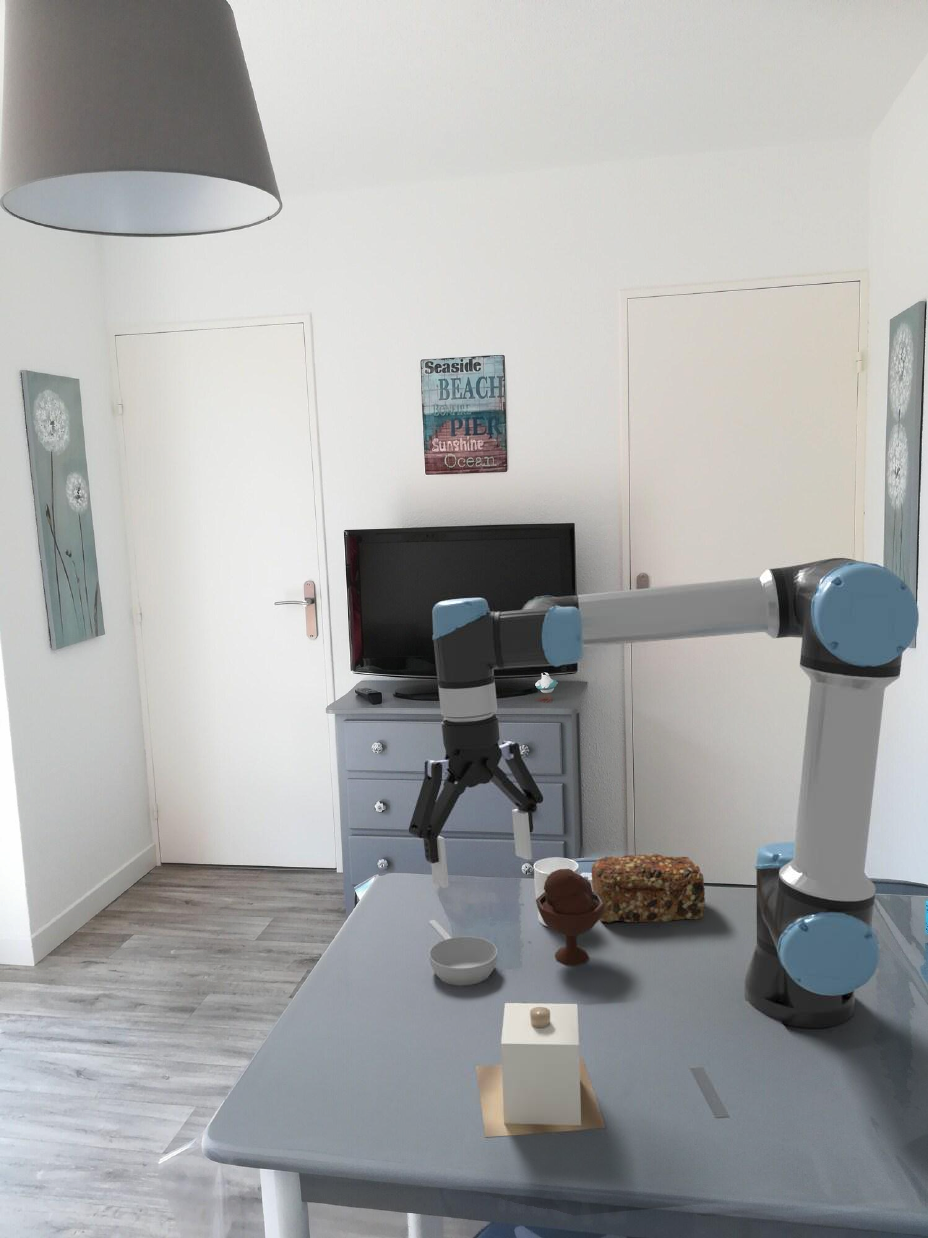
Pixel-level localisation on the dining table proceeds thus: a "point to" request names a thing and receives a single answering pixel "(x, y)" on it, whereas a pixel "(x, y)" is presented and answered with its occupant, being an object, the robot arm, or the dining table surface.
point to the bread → (648, 888)
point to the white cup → (546, 868)
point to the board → (496, 1127)
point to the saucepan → (462, 958)
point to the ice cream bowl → (570, 911)
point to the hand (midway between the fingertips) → (483, 870)
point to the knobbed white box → (541, 1064)
